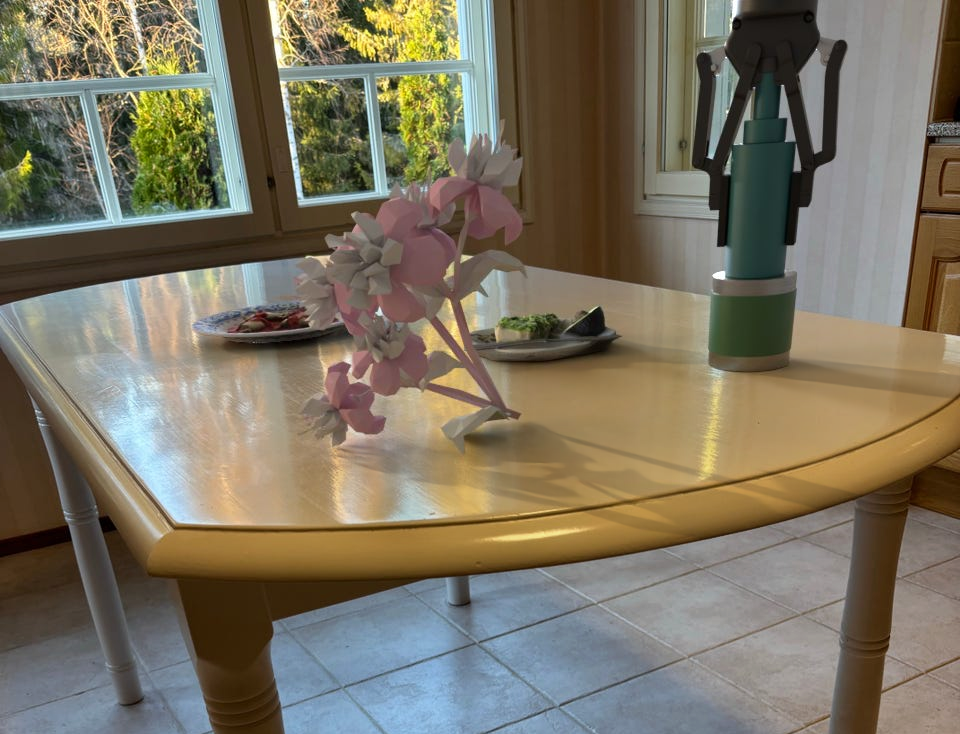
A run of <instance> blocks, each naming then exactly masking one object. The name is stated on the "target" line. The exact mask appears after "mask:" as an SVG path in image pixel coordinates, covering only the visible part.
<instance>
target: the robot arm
mask: <svg viewBox="0 0 960 734" xmlns="http://www.w3.org/2000/svg"><path fill="white" fill-rule="evenodd" d="M818 7H819V0H732V9H731V24H730V29H729V33H728V36H727V38H726V40H725V42H724V45H723V46H720V47H717V48H715V49H713V50H710V51H708V52H705V51H703V52H700V53H698V54H697V56H696V59H695V62H696V68H697V73H698V77H699V89H698V98H697V109H696V118H695V127H694V137H693V146H692V154H691V155H692V156H691V166H692V168H694V169H695V170H700V171H702V172H704V173H707V175H708V176H709V188H708V189H709V190H708V205H707V206H708V208H709V211H710V212H711V211H713V212H714V211H718V220H717V234H716V235H717V237H716V248H724V247H725V248H726V237H727V221H728V204H729V188H730V173H725V171H726V170H727V165H728V162H729V159H730V157H731V154H732V145H733V144H735V142H736V140H737V136H738V133H739V130H740V127H741V124H742V121H743V119H744V116H745V113H746V110H747V107H748V105H749V101H750V99H751V97H752V94H753V92H754V90H755V88H758V87H760V82H761V81H762V74H763V73H758V71H759V60H760V59H761V58H767V57H778V61H779V62H778V71H777V72H773V81H775V86H781V87H783V88H784V92H785V96H786V100H787V105H788V110H789V115H790V119H791V124H792V130H793V134H794V139H795V141H796V149H797V154H798V158H799V163H800V170H794V172H793V173H792V183H791V194H790V205H789V216H788V227H787V238H786V246H787V247H789V246H790V247H791V246H792V247H793V246H795V244H796V243H797V236H798V224H799V216H800V215H799V214H800V209H801V208H809V207H810V205H811V203H812V201H813V193H814V182H815V174H816V170H817V169H818V168H819V167H822V166H823V165H826V164H828V163H831V162H832V161H834V160H835V158H836V156H837V146H838V126H839V107H840V106H839V103H840V81H841V70H842V67H843V64H844V61H845V59H846V55H847V53H848V51H849V44H848V42H847V41H846V40H845V39H838V40H837V39H831V38H829V37H828V38H827V37H823V36H821V32H820V29H819V27H818V23H817V17H818ZM816 51H818V52H819V54H820V60H819V61H820V64H821V65H822V66H824V67H825V72H824V81H823V82H824V83H823V85H824V86H823V106H822V107H823V108H822V109H823V110H822V111H823V113H822V134H821V135H822V136H821V150H820V151H817V152H815V149H814V144H813V140H812V134H811V131H810V125H809V118H808V114H807V109H806V105H805V99H804V95H803V89H802V83H801V78H800V73H801V72H802V71H803V69H804V67H806V64H808V62H809V60H810V59H811V57H812V56H813V55H814V53H815V52H816ZM726 59H728V62H729V63H730V64H731V66H732V68H733V69H734V71H735V73H736V74H737V76H738V80H737V83H736V87H735V90H734V93H733V98H732V101H731V103H730V107H729V109H728V113H727V116H726V118H725V121H724V124H723V127H722V130H721V133H720V136H719V139H718V141H717V145H716V147H715V151H714V153H713V157H710V156H709V154H710V145H711V136H712V127H713V118H714V110H715V102H716V101H715V100H716V91H717V76H719V75H720V74H721V72H722V71H723V64H724V61H725V60H726Z"/></svg>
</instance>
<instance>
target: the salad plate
mask: <svg viewBox="0 0 960 734" xmlns="http://www.w3.org/2000/svg"><path fill="white" fill-rule="evenodd" d="M497 322H498V323H497V324H496V325H495V326H494V327H490V328H483V329H478V330H477V329H476V330H473V331H469V333H470V336H471V339H472V343H473V345H474V347H475V349H476V351H477V353H478V355H479V357H480V358H485V359H488V360H491V361H497V362H544V361H545V362H546V361H552V360H553V361H554V360H558V359H559V360H560V359H565V358H569V357H577V356H582V355H589V354H592V353H598V352H601V351H604V350H607V349H608V348H609V347H610V345H611V344H612V343H613V342H614V341H616V340H618V339H619V338H622V337H623V335H621V334H618V333H617V330H616V329H615V328H612V327H608V326H606V318H605V313H604V311H603V308H602V307H601V305H596V306H594V307H593V308H591V309H590V310H589V311H587V310H583V309H582V310H581V309H580V310H578V311H575V312H574V313H573V315H572V317H571V318H568V317H567V318H566V317H565V318H563V317H558V316H557V315H556V314H555V313H553V312H552V313H549V312H546V313H545V314H539V313H538V314H536V313H534V314H529V315H528V317H527V316H526V315H524V316H517V315H514V316H510V317H509V316H503V317H501V318H500V319H498V321H497ZM461 342H462V343H463V341H462V340H461ZM463 351H464V352H467V351H466V349H465V348H464V347H463Z"/></svg>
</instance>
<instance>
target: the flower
mask: <svg viewBox="0 0 960 734" xmlns="http://www.w3.org/2000/svg"><path fill="white" fill-rule="evenodd" d="M505 123H506V118H502V119H500V120H499V129H500V130H499V133H498V135H497V138H496V142H495V144H494V148H493V151H492V147H493V141H492V140H491V139H490V138H489V137H488V136H489V135H488V133H484V134H483V136H482V133H481V132H480V133H478V137H477V135H476V133H475V130H472V133H471V138H470V143H469V149H468V153H467V152H466V150H465V146H464V143H463V141H462V138H461V136H459V137H457V138H456V139H455V140H453V141H452V142H450V143H449V144H448V145H447V162H448V165H449V166H450V168H451V169H452V170H453V172H454V173H455V175H454V176H453V175H452V176H445V177H438V178H437V179H436V180H435V181H434V183H433V184H432V185H431V179H432V169H431V166H430V165H428V168H427V185H426V181H423V186H422V190H421V183H418V181H417V180H415V181H414V180H411V181H410V180H408V183H409V184H408V185H407V186H406V187H405V188H403V189H402V188H401V186H400V184H399V181H398V180H396V181H395V182H394V185H393V186H392V188H391V190H390V192H389V194H388V197H389V200H387V201H385V202H382V204H381V206H380V207H379V210H378V212H377V214H376V217H375V216H373V215H372V214H370V213H367V212H362V213H361V212H359V211H354V212H352V213H350V215H351V217H352V220H353V221H354V222H355V225H354V227H353V229H352V231H344V232H343V235H340V236H338V235H335V234H331V233H328V234H327V235H325V237H323V238H324V240H325V242H326V244H327V247H328V248H329V249H330V248H331V249H332V250H334V252H332V253H331V254H330V255H329V259H326V258H325V262H326V263H324V264H323V263H322V262H321V261H320V260H319V259H317V258H315V257H312V256H308V257H304V258H301V259H300V260H298V261H297V262H296V263H295V264H294V267H296V268H298V269H300V270H302V271H303V273H301V274H299V275H297V276H296V277H295V276H293V280H294V281H293V284H294V287H296V288H295V290H294V291H295V293H296V294H297V295H281V296H277V298H278V299H280V300H282V301H302V302H300V305H299V308H301V307H303V306H304V307H306V308H307V310H306V311H305V312H300V313H299V317H298V318H300V317H301V316H302V315H303V314H308V315H310V316H309V317H308V318H307V319H306V320H305V321H310V322H309V326H310V328H313V329H319V330H324V329H325V328H327V327H328V326H329V325H330V324H331V323H333V320H334V318H335V315H336V313H337V310H338V309H339V312H340V315H341V318H342V320H343V322H344V324H345V327H346V329H347V331H348V333H349V335H352V336H353V344H354V351H355V352H353V353H352V359H351V364H350V363H348V362H346V361H337V362H333V363H332V364H331V365H330V366H329V367H327V372H326V376H325V380H324V387H325V390H326V393H325V392H323V391H318V392H317V393H315V394H314V395H312V396H311V397H309V398H308V399H306V400H304V401H302V402H301V403H300V409H299V415H303V418H302V419H301V420H302V421H306V420H309V419H312V420H313V421H310V422H309V423H307V424H306V425H305V427H308V426H311V425H312V424H314V425H313V426H312V427H310V428H309V429H307V430H305V431H302V432H298V433H297V436H298V437H301V436H302V435H305V434H306V433H309V432H310V431H312V432H314V431H316V433H314V437H315V438H316V442H318V441H319V440H320V439H323V438H324V437H327V436H329V438H331V439H330V447H337V446H341V445H342V444H343V443H344V442H346V441H347V433H348V431H349V427H350V428H351V429H352V430H353V431H354V432H355V433H361V434H364V435H370V436H371V435H373V436H374V435H375V436H376V435H378V434H380V433H382V432H383V431H384V428H385V424H386V421H387V417H386V416H385V415H383V414H382V415H381V414H380V415H373V413H372V411H371V408H372V405H373V404H374V401H375V397H376V396H375V394H378V395H380V396H384V397H390V396H396V395H397V393H398V392H399V391H400V389H401V388H403V389H409V388H411V389H412V388H413V389H417V390H420V391H421V393H422V394H423V393H424V392H425V390H427V391H430V392H433V393H436V394H439V395H441V396H445V397H447V398H450V399H454V400H457V401H460V402H462V403H466V404H469V405H473V406H474V407H478V408H480V410H478V411H475V412H473V413H468V414H463V415H460V416H456V417H452V418H450V419H449V420H447V421H446V422H445V423H444V424H442V425H441V426H440V430H441V431H442V433H443V435H444V437H445V438H446V440H451V441H452V442H453V444H454V445H455V447H456V448H457V450H458V451H459V453H460V454H461V455H463V454H465V453H466V445H465V444H466V443H465V437H466V436H467V435H468V434H470V433H472V432H473V431H474V430H476V429H478V428H479V427H481V426H482V425H483V424H485V423H487V422H493V421H501V420H508V421H510V419H509V418H511V419H513V420H516V421H518V420H519V419H520V417H521V415H522V413H521V412H518V411H516V410H513V409H511V408H508V407H507V405H506V404H505V402H504V400H503V398H502V395H501V394H500V393H499V391H498V389H497V387H496V385H495V383H494V381H493V379H492V378H491V375H490V373H489V372H488V370H487V368H486V366H485V364H484V362H483V361H482V359H481V356H479V355H478V353H477V351H476V349H475V347H474V345H473V343H472V339H471V336H470V330H469V326H468V323H467V319H466V316H465V312H464V309H463V306H462V302H461V301H462V300H464V299H465V298H467V297H468V296H469V295H471V294H473V293H476V292H477V293H479V294H480V295H482V296H483V297H485V298H489V295H488V293H487V291H486V290H485V289H484V286H483V285H482V283H483V281H484V280H485V279H486V278H487V277H488V276H489V275H490V274H491V272H492V271H494V270H496V271H500V272H504V273H512V272H518V271H519V272H520V273H521V274H522V275H523V277H524V278H525V279H526V280H528V274H527V271H526V268H525V265H524V264H523V262H522V261H521V260H520V259H518V258H517V257H515V256H513V255H511V254H509V253H508V252H507V251H503V250H497V249H488V250H486V251H483V252H480V253H477V254H475V255H473V256H472V257H470V258H468V259H466V260H464V261H462V262H461V259H462V255H463V251H464V247H465V243H466V239H467V236H470V237H472V238H474V239H476V240H478V241H479V240H483V239H486V238H490V237H493V236H494V235H495V234H496V232H497V231H498V230H500V229H502V228H504V246H505V247H506V246H507V245H509V244H511V243H513V242H514V241H516V240H517V238H518V237H519V236H520V235H521V233H522V231H523V228H524V227H523V219H522V217H521V216H520V214H519V213H518V211H517V209H516V208H515V207H514V205H513V204H512V203H511V202H510V201H509V199H508V197H507V196H506V195H504V194H503V193H502V192H503V191H502V190H503V188H508V187H509V188H510V187H515V186H518V184H519V181H520V176H521V172H522V168H523V159H524V156H521V157H518V158H517V159H515V160H513V158H514V155H515V154H516V152H517V151H518V150H519V148H512V146H511V144H507V141H506V139H504V140H503V142H502V144H501V147H500V150H498V149H499V146H500V143H501V139H502V137H503V133H504V130H505ZM483 138H484V139H483ZM483 140H484V141H483ZM483 142H484V145H483ZM426 186H427V188H426ZM426 189H427V190H426ZM403 190H404V192H403ZM425 190H426V192H425ZM464 197H466V199H465V201H464V205H463V206H464V221H465V223H464V225H463V227H462V229H461V231H460V233H459V238H458V243H457V245H456V242H455V240H454V239H453V238H452V237H450V236H449V235H448V234H446V233H445V232H444V231H443V230H442V229H439V227H442V226H444V225H446V224H449V223H450V222H451V221H452V218H453V216H454V213H455V211H456V208H457V206H456V201H458V200H460V199H462V198H464ZM336 247H337V248H336ZM332 262H333V263H332ZM452 264H453V275H450V276H447V269H449V268H450V266H451V265H452ZM324 265H325V266H324ZM446 276H447V277H446ZM445 277H446V278H445ZM446 299H448V300H449V302H450V305H451V308H452V312H453V315H454V319H455V322H456V325H457V328H458V331H459V334H460V338H461V342H462V341H463V342H462V345H463V348H462V347H461V346H460V345H459V343H458V342H457V340H456V339H455V338H454V337H453V335H452V334H451V333H450V331H449V330H448V328H447V327H446V326H445V324H443V322H442V321H441V320H440V318H438V316H437V314H438V313H439V312H440V310H441V309H442V307H443V305H444V302H445V300H446ZM379 309H380V311H381V313H382V315H378V314H377V313H378V312H379ZM384 317H385V318H387V322H386V321H385V319H384ZM424 318H425V319H426V320H427V321H428V322H429V323H430V325H431V326H432V327H433V329H434V330H435V331H436V332H437V333H438V335H439V337H440V338H441V339H442V340H443V342H444V343H445V344H446V345H447V347H448V348H449V349H450V351H451V352H452V353H453V354H454V356H455V357H456V358H457V359H456V358H454V357H453V356H452V355H450V354H448V353H447V352H446V351H443V350H433V351H431V352H430V353H428V354H426V353H425V352H426V351H427V350H428V349H427V346H426V343H425V340H424V338H423V337H422V336H421V335H418V334H416V333H414V332H413V331H411V330H410V327H409V324H410V323H411V324H414V323H416V322H418V321H420V320H422V319H424ZM396 323H400V324H401V323H402V325H401V326H400V329H398V325H397V324H396ZM464 348H465V349H466V351H464ZM371 365H372V366H371ZM370 366H371V369H370V374H369V378H368V379H369V383H370V385H368V384H365V383H363V382H360V381H359V380H361V379H363V378H364V376H365V374H366V373H367V371H368V369H369V367H370ZM350 369H351V376H352V377H353V378H354V379H356V380H357V381H356V382H353V383H350V380H349V377H348V373H349V371H350ZM454 369H465V370H466V372H467V373H468V374H469V375H470V376H471V378H472V379H473V381H475V383H476V384H477V385H478V386H479V388H480V389H481V391H482V392H483V393H484V394H485V395H486V397H487V398H488V399H489V400H487V399H486V398H483V397H480V396H478V395H475V394H473V393H470V392H468V391H465V390H463V389H458V388H454V387H450V386H446V385H442V384H437V383H433V382H431V381H433V380H436V379H439V378H442V377H444V376H446V375H447V374H449V373H450V372H452V371H453V370H454Z"/></svg>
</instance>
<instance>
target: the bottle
mask: <svg viewBox="0 0 960 734" xmlns="http://www.w3.org/2000/svg"><path fill="white" fill-rule="evenodd" d="M778 62H779V61H778V57H767V58H761V59H760V60H759V71H758V73H763V74H762V81H761V82H760V87H758V88H754V98H753V111H752V119H747V120H744V121H743V134H742V142H741V143H734V144H733V145H732V151H731V154H730V173H729V174H730V188H729V204H728V221H727V237H726V246H725V255H724V270H723V271H724V275H725V276H727V277H732V278H767V277H775V276H780V275H783V274H784V273H785V269H786V262H787V252H788V251H787V250H788V246H786V238H787V227H788V216H789V205H790V194H791V183H792V173H793V172H794V171H795V160H796V151H797V150H796V149H797V144H796V140H793V139H792V140H788V139H787V129H788V117H780V108H781V96H782V86H775V81H773V72H777V71H778Z"/></svg>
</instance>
